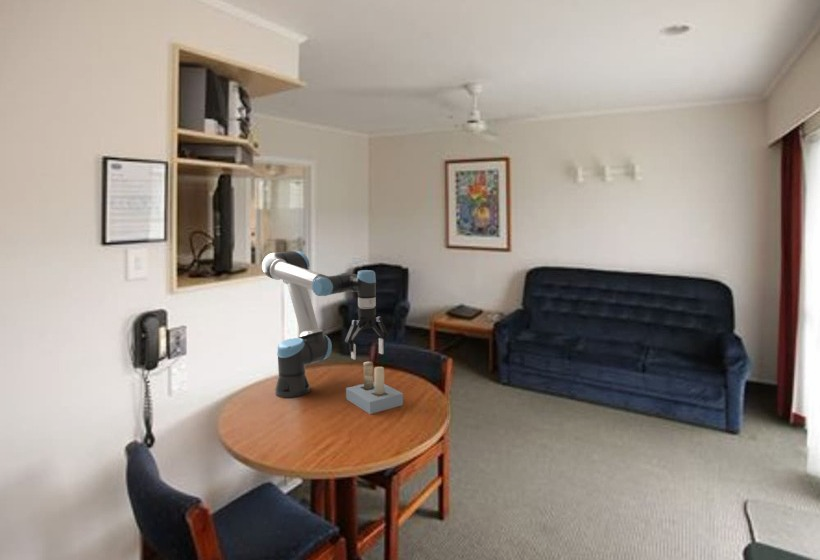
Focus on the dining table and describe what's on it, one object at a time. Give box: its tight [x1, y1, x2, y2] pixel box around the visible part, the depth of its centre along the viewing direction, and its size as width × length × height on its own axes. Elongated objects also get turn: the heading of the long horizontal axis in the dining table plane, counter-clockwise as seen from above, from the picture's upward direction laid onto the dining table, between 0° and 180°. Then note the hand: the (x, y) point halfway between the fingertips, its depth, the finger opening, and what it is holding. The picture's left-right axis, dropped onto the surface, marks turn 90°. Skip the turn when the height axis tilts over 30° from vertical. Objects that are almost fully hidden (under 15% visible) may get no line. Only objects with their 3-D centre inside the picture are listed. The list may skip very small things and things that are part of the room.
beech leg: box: [363, 361, 374, 391], centre depth 207 cm, size 4×4×16 cm
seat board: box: [345, 366, 404, 415], centre depth 203 cm, size 20×16×16 cm
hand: (367, 356), depth 206 cm, fingers open, 13 cm apart
